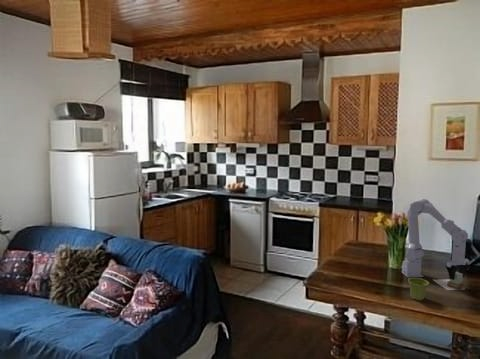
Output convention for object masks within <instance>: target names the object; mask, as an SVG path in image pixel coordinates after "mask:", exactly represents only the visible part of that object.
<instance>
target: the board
mask: <svg viewBox="0 0 480 359" xmlns="http://www.w3.org/2000/svg"><path fill="white" fill-rule="evenodd" d="M432 281H434V282H435V283H436V284H438V285H439V286H441V287H443V289H445V290H446V291H457V290H456V289H454V288H451V287H449V286H447V281H450V278H449V279H448V278H446V279H442V278H441V279H432ZM459 290H460V291H461V290H466V288H463V289H459ZM459 290H458V291H459Z"/></svg>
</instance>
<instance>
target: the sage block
mask: <svg viewBox="0 0 480 359" xmlns="http://www.w3.org/2000/svg"><path fill="white" fill-rule="evenodd" d="M449 279H450V278H449ZM450 282H452V283H455V284H461V283H463V274H461V273H459V271H456V273H455V278H454V280H452V279H450Z"/></svg>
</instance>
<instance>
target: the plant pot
mask: <svg viewBox="0 0 480 359" xmlns="http://www.w3.org/2000/svg"><path fill="white" fill-rule="evenodd" d="M407 281H408V284H409V292H410V293H409V294H410V298H411V299H412V300H416V301H423V300H424V299H425V296H426V292H427V288H428V286H429V285H430V282H429V281H428V280H426V279H423V278H421V277H409V278H408V280H407Z"/></svg>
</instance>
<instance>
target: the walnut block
mask: <svg viewBox="0 0 480 359" xmlns="http://www.w3.org/2000/svg"><path fill="white" fill-rule="evenodd" d="M447 286H449V287H451V288H454V289H456V290H455V291H459V289H463V288H464V289H466V283H465V282H462V283H461V284H455V283H452V282H450V281H447Z"/></svg>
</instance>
